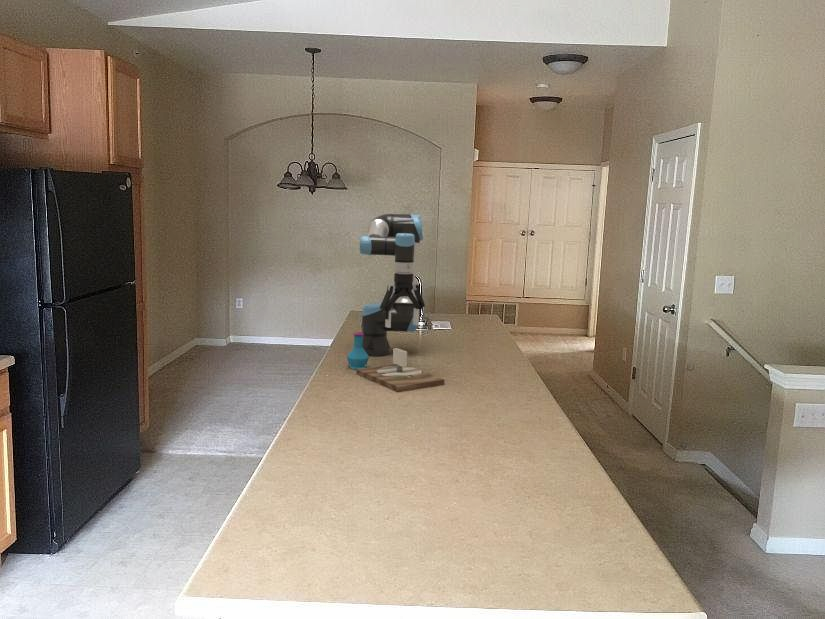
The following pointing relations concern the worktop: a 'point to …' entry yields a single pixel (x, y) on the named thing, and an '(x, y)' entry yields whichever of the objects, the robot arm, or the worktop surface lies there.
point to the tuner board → (400, 377)
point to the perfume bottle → (358, 353)
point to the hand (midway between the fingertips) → (402, 326)
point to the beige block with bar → (398, 360)
